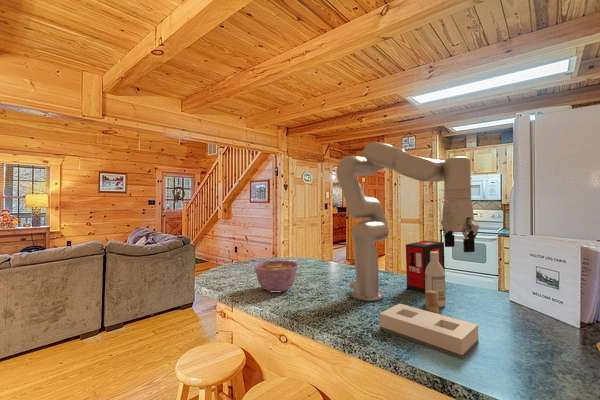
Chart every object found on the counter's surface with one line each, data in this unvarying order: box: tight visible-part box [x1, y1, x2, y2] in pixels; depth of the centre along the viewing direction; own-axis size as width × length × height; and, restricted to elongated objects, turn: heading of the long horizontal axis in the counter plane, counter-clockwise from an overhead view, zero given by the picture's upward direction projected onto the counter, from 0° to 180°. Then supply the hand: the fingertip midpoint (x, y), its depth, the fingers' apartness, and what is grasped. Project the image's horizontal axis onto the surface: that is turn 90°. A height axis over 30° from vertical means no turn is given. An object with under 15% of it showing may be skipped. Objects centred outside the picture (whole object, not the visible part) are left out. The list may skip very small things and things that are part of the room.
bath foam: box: [425, 252, 447, 308], centre depth 112 cm, size 7×7×20 cm
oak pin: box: [424, 290, 440, 314], centre depth 99 cm, size 4×4×9 cm
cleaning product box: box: [405, 240, 446, 294], centre depth 133 cm, size 16×9×20 cm, turn 127°
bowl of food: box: [254, 260, 299, 292], centre depth 135 cm, size 20×20×12 cm
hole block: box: [379, 303, 479, 360], centre depth 87 cm, size 12×24×5 cm, turn 42°
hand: (458, 249), depth 94 cm, fingers open, 9 cm apart
